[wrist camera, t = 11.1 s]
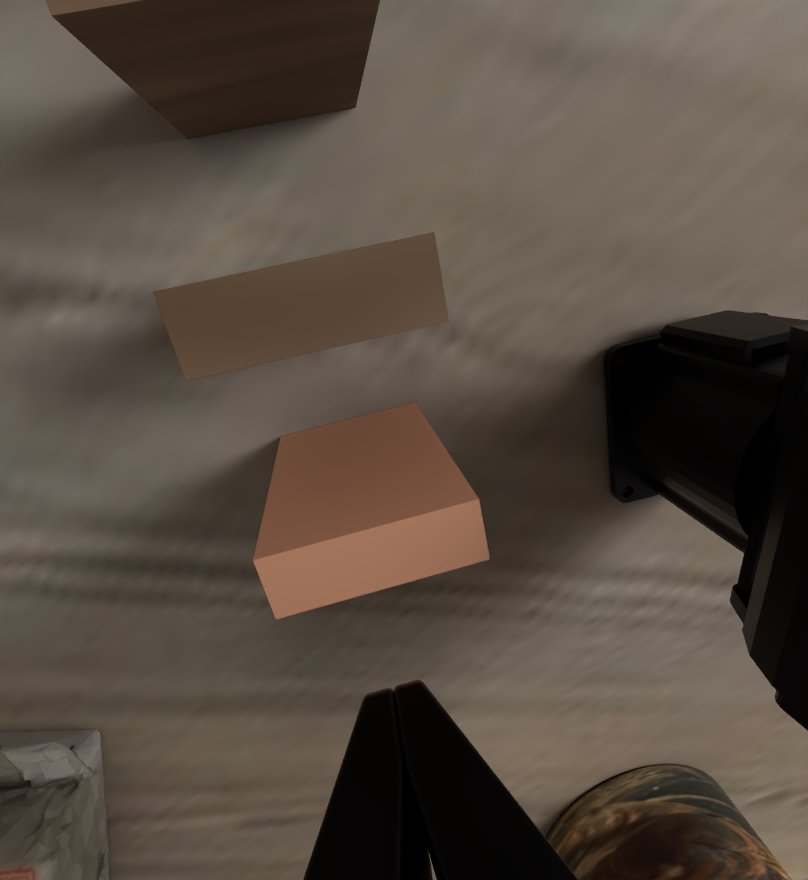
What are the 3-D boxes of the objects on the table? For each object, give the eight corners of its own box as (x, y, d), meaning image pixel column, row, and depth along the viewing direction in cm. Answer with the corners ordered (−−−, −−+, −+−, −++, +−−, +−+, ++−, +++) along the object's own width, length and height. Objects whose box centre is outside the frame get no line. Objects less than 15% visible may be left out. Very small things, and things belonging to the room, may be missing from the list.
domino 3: (423, 441, 19) (490, 559, 12) (293, 475, 19) (276, 619, 11) (414, 401, 18) (478, 499, 11) (280, 436, 18) (252, 560, 11)
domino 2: (392, 294, 17) (448, 321, 10) (246, 326, 17) (185, 380, 9) (382, 244, 16) (434, 232, 9) (230, 276, 16) (153, 291, 9)
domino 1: (355, 107, 15) (389, -42, 8) (188, 138, 15) (51, 15, 7) (343, 43, 14) (366, -185, 7) (168, 74, 14) (-2, -131, 7)
